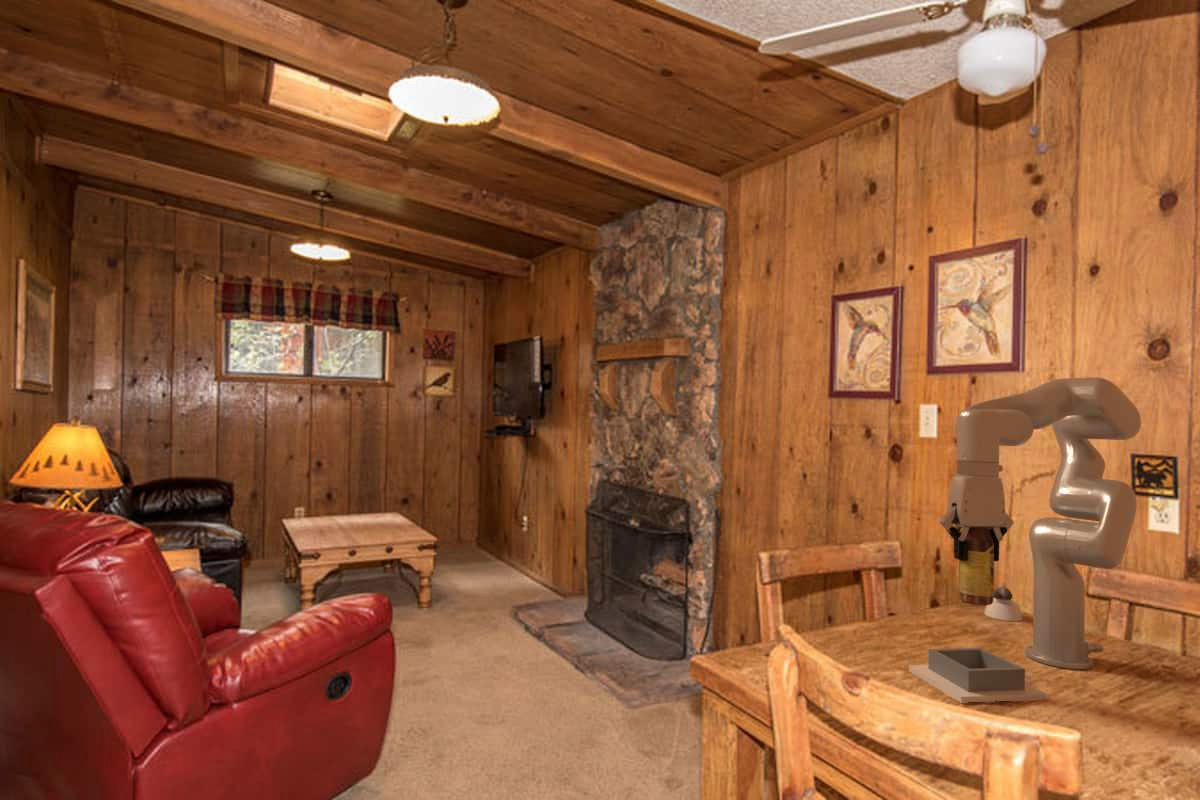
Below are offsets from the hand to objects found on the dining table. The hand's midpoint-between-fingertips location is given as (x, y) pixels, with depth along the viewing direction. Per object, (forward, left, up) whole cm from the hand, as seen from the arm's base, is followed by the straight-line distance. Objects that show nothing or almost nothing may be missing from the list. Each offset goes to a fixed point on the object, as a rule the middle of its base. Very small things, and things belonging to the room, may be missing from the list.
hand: (976, 559), depth 135 cm
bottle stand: (0, 0, -25) cm, 25 cm away
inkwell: (-40, -41, -25) cm, 63 cm away
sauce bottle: (0, 0, -9) cm, 9 cm away
